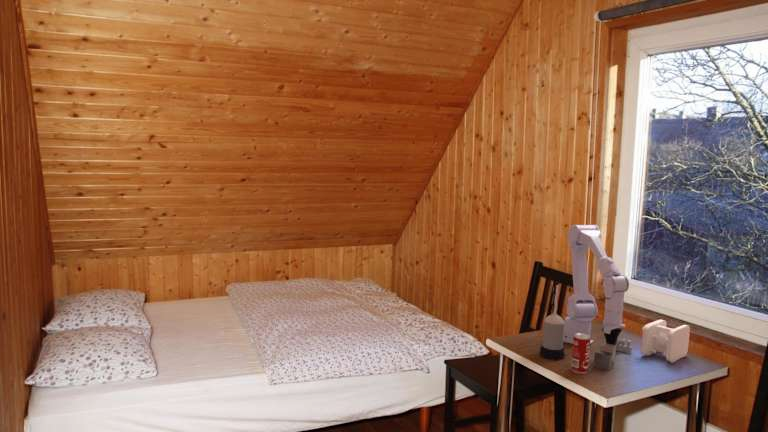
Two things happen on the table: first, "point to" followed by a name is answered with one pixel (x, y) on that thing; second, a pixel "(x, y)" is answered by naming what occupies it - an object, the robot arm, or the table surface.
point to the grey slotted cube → (609, 349)
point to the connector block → (603, 359)
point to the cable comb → (624, 346)
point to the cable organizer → (665, 340)
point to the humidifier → (553, 335)
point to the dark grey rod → (616, 346)
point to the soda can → (580, 353)
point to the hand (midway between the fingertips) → (610, 348)
